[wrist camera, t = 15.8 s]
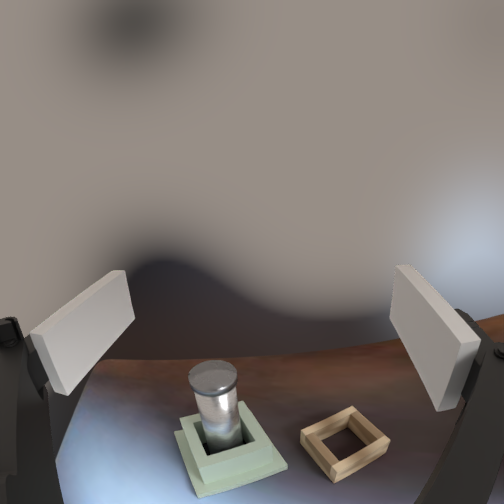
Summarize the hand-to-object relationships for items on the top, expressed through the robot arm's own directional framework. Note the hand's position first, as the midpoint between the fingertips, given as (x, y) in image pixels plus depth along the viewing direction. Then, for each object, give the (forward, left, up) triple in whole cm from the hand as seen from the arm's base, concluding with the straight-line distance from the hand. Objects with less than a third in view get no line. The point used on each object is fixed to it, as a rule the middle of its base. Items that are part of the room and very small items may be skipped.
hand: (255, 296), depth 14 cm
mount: (-14, -7, -30) cm, 34 cm away
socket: (0, -14, -30) cm, 33 cm away
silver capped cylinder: (0, -14, -30) cm, 33 cm away
